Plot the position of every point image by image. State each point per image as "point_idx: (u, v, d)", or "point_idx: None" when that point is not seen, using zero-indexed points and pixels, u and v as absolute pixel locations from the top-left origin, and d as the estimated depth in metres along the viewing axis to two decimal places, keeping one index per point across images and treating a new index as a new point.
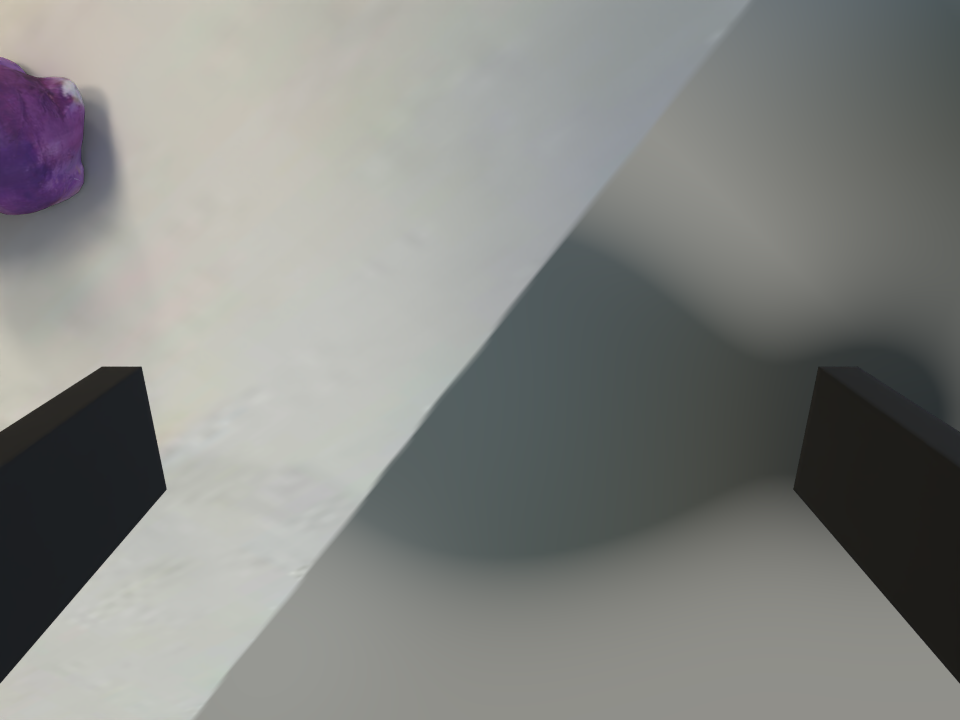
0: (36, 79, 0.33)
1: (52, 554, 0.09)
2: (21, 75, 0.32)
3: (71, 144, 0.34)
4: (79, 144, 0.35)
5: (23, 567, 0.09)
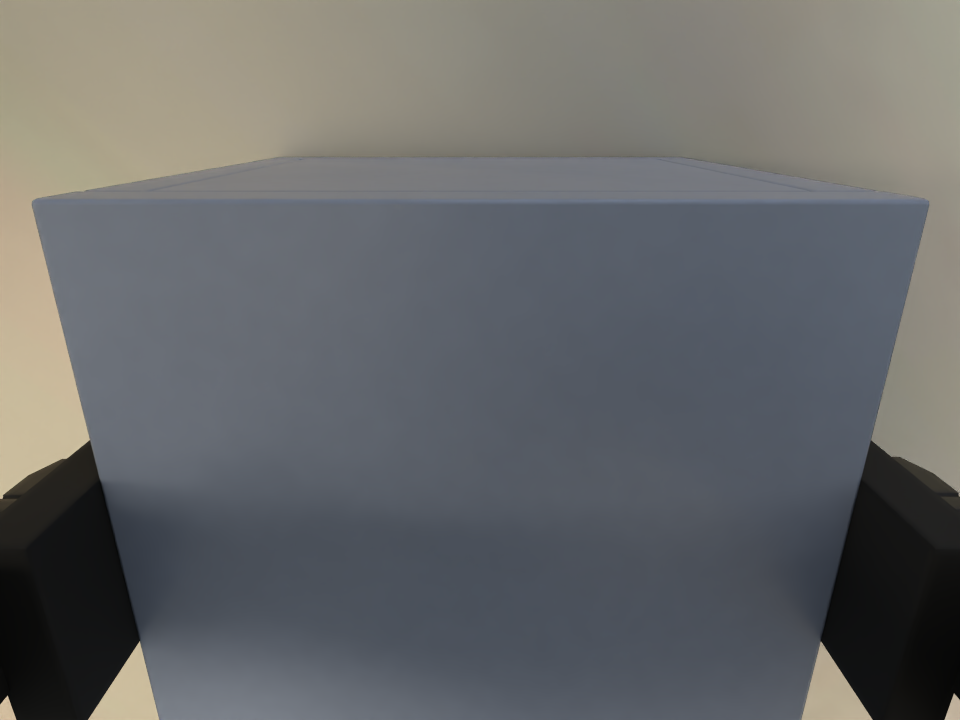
0: None
1: None
2: None
3: None
4: None
5: None
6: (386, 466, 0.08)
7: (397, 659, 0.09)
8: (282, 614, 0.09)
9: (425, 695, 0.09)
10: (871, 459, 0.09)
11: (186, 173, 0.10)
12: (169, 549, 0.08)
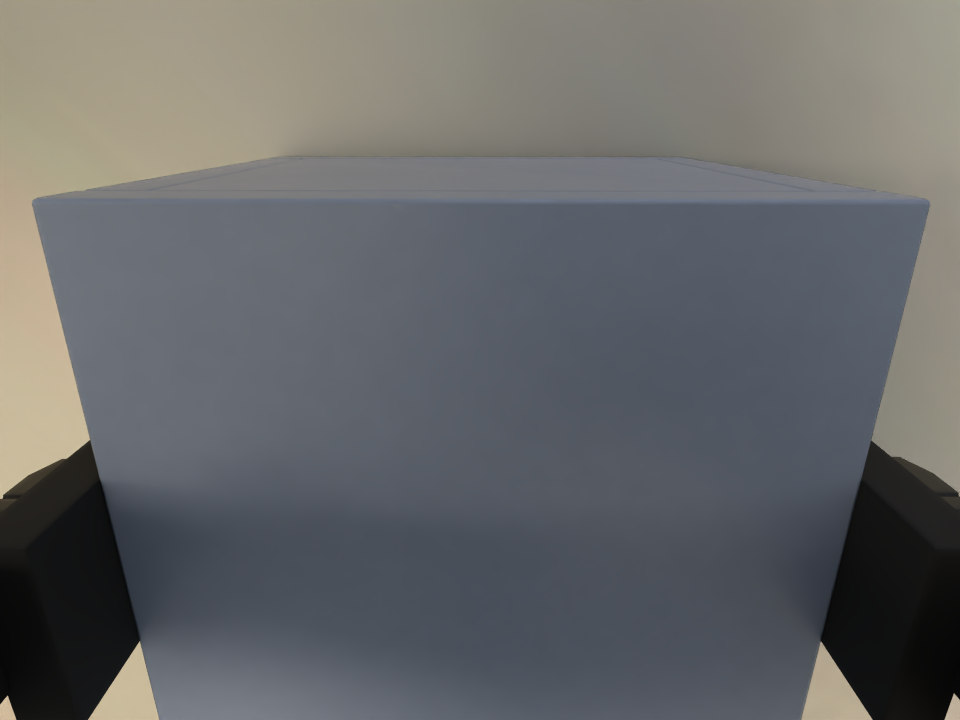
0: None
1: None
2: None
3: None
4: None
5: None
6: (386, 466, 0.08)
7: (397, 659, 0.09)
8: (282, 614, 0.09)
9: (425, 695, 0.09)
10: (871, 459, 0.09)
11: (186, 173, 0.10)
12: (169, 548, 0.08)
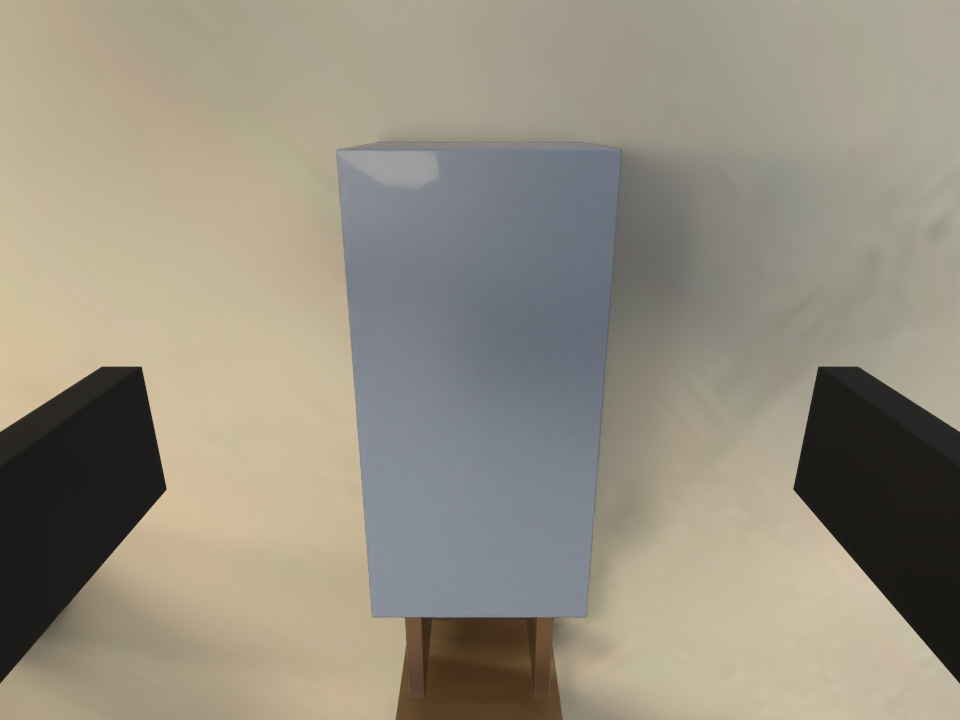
0: None
1: (52, 554, 0.09)
2: None
3: None
4: None
5: (23, 567, 0.09)
6: (445, 246, 0.23)
7: (447, 330, 0.24)
8: (404, 309, 0.24)
9: (457, 348, 0.24)
10: None
11: None
12: (365, 280, 0.23)
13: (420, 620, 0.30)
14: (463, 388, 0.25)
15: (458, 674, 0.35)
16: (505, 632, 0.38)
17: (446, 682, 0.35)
